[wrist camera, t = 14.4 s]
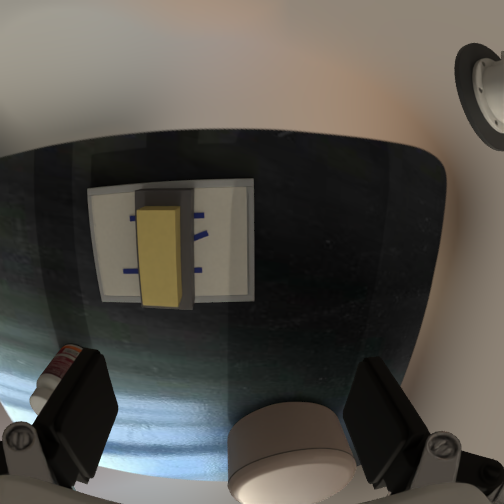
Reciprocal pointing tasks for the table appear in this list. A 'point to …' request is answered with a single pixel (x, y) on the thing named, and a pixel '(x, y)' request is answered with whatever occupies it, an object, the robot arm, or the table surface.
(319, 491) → the container
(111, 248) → the whiteboard
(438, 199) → the table surface
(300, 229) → the table surface
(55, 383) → the pill bottle
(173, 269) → the eraser
